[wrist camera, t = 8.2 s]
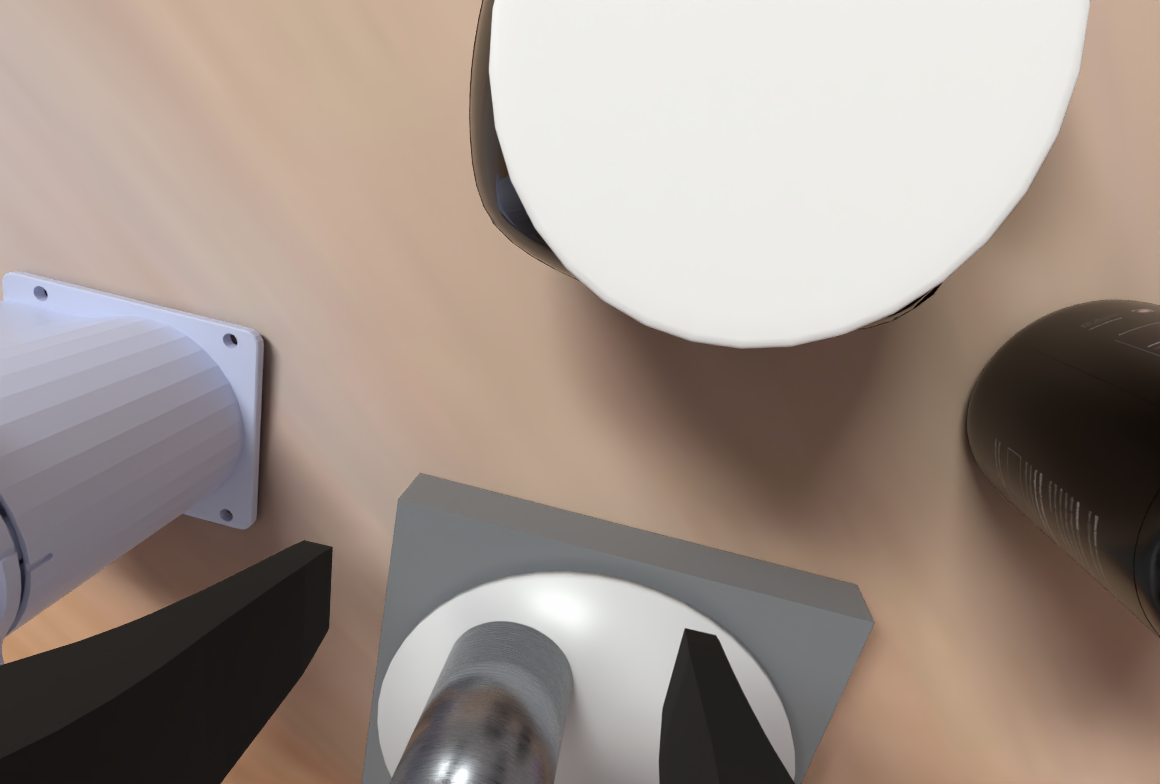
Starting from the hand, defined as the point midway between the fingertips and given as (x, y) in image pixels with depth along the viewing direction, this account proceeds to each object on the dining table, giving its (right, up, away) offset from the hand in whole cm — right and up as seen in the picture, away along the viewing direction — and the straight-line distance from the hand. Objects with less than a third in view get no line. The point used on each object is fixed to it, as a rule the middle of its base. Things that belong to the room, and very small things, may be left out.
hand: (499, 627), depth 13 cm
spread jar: (+7, +14, +5) cm, 16 cm away
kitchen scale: (+1, -9, +13) cm, 17 cm away
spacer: (-1, -5, +9) cm, 11 cm away
